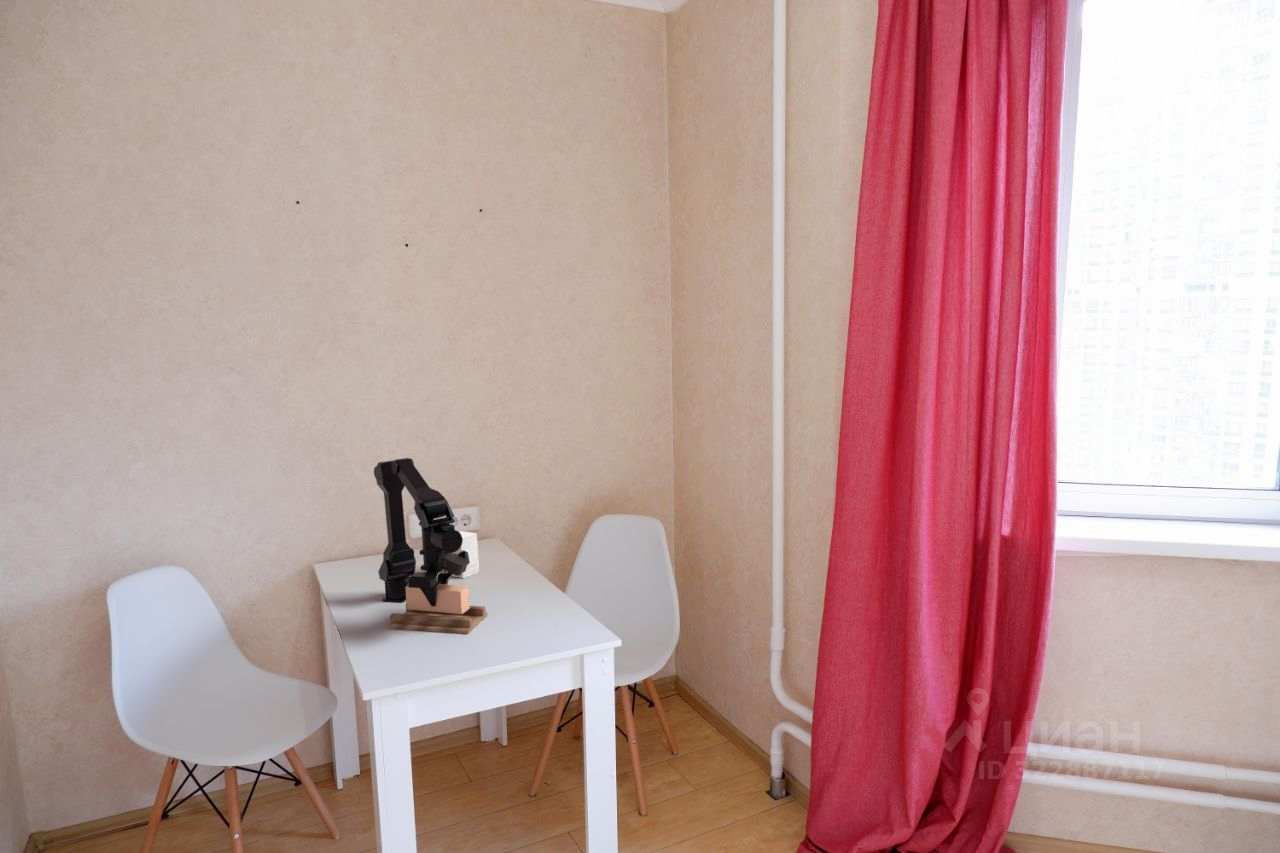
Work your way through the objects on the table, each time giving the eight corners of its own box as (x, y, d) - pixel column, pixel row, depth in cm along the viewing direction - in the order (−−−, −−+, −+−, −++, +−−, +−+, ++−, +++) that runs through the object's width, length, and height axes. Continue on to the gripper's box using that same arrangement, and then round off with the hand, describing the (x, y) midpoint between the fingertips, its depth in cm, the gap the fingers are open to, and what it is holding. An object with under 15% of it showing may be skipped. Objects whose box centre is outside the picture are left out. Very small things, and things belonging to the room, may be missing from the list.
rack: (388, 628, 192) (387, 617, 192) (411, 611, 204) (410, 600, 204) (468, 633, 188) (467, 622, 187) (487, 615, 199) (487, 605, 199)
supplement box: (480, 572, 236) (478, 533, 235) (462, 579, 230) (460, 538, 228) (463, 568, 240) (461, 530, 239) (445, 575, 234) (443, 535, 232)
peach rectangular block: (406, 609, 196) (405, 586, 195) (415, 603, 200) (414, 581, 199) (461, 614, 191) (460, 591, 191) (469, 608, 195) (468, 586, 194)
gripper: (446, 556, 183) (450, 618, 185) (478, 535, 201) (481, 592, 203) (404, 554, 185) (408, 615, 187) (439, 534, 203) (443, 590, 205)
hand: (437, 603), depth 195 cm, fingers closed on peach rectangular block, 4 cm apart
